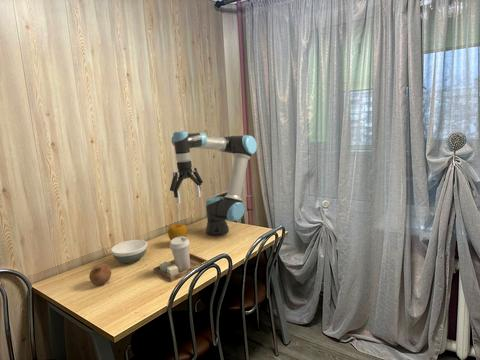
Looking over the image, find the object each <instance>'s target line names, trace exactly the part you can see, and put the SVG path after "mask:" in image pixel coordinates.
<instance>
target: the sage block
mask: <svg viewBox="0 0 480 360" xmlns="http://www.w3.org/2000/svg"><path fill="white" fill-rule="evenodd" d="M159 266H160V270H161V271H163V272H165V273H166V274H167V267H169V266H172V264H171V263H169V261H164V262H162V263H160V264H159Z"/></svg>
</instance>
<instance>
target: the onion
mask: <svg viewBox="0 0 480 360" xmlns="http://www.w3.org/2000/svg"><path fill="white" fill-rule="evenodd" d="M88 277H89V281H90V282H91V283H92V284H93V285H95V286H103V285H105V284H106V283H107V282H108V281H109V280H110V279H111V277H112V269H111V268H110V266H108V265H107V264H98V265H95V266H94V267H93V268H92V269H91V271H90V272H89V276H88Z"/></svg>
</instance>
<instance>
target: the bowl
mask: <svg viewBox="0 0 480 360" xmlns="http://www.w3.org/2000/svg"><path fill="white" fill-rule="evenodd" d="M147 246H148V242H147V241H146V240H143V239H130V240H126V241H121V242H119V243H117V244H115V245H113V246H112V247H111V249H110V252H111V253H112V256H113V258H114V259H115V261H118V262H120V263H123V264H126V265H127V264H128V265H129V264H133V263H137V262H138V261H140V260H141V259H142V258H143V257H144V256H145V254H146V252H147Z"/></svg>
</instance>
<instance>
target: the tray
mask: <svg viewBox="0 0 480 360" xmlns="http://www.w3.org/2000/svg"><path fill="white" fill-rule="evenodd" d="M189 256H190V268H189V269H187V270H185V271H178V272H179V274H176V275H174V276H170V275H168V274H166V273H165V272H163V271H161V270H160V265H157V266H156V267H153V269H152V270H153V273H156V274H157V275H159V276H160V277H162V278H164V279H165V280H167V281H170V282H171V283H172V282H175V281H177V280H179V279H181V278H183V276H184V277H186V276H187V275H186V274H187V273H188V272H189V271H191V270H192V269H194V268H196V267H197V266H199V265H201V264H202V263H204V262H206V261H209V260H207V259H205V258H203V257H200V256H199V255H195V254H193V253H190V252H189ZM168 262H169V263H171V264H172V265H175V266H176V263H175V260H174V259H172V260H170V261H168ZM185 275H186V276H185Z"/></svg>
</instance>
